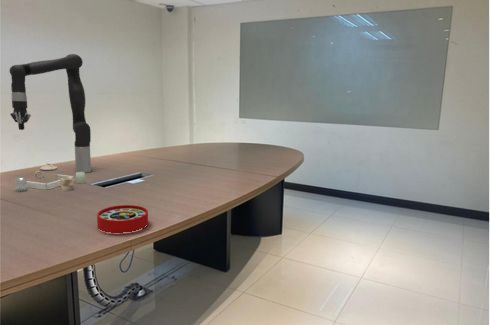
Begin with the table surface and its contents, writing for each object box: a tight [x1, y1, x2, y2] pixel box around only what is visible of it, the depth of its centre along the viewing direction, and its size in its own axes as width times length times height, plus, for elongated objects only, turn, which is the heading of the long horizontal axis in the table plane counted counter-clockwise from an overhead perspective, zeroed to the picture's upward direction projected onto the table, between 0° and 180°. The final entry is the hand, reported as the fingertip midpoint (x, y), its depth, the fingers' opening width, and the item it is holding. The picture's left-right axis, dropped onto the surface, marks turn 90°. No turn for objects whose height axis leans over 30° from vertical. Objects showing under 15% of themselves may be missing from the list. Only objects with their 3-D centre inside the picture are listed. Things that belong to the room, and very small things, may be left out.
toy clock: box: [96, 204, 149, 233], centre depth 149 cm, size 20×6×20 cm
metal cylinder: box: [14, 176, 28, 193], centre depth 191 cm, size 5×5×7 cm
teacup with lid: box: [33, 162, 59, 184], centre depth 207 cm, size 12×9×12 cm
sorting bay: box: [27, 174, 76, 191], centre depth 207 cm, size 18×21×3 cm
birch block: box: [60, 178, 74, 192], centre depth 197 cm, size 5×5×6 cm
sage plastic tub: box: [75, 171, 86, 185], centre depth 212 cm, size 5×5×6 cm
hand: (21, 129), depth 214 cm, fingers closed
